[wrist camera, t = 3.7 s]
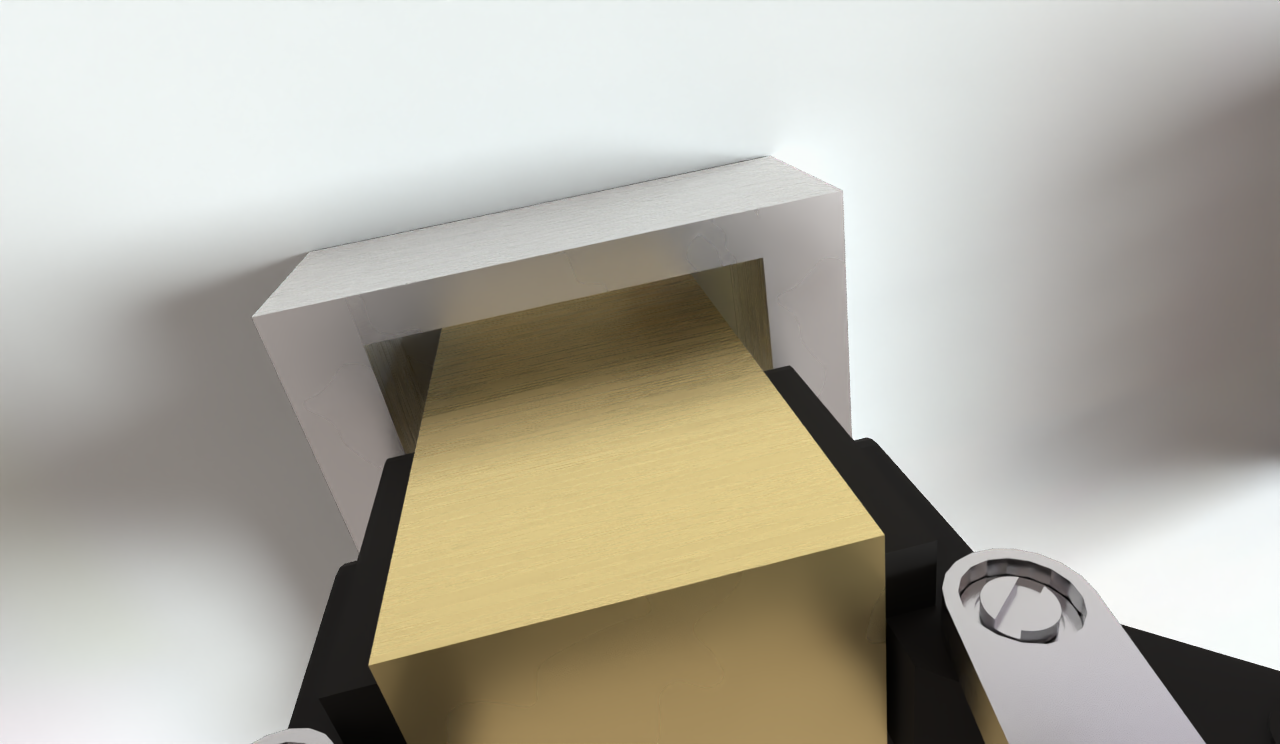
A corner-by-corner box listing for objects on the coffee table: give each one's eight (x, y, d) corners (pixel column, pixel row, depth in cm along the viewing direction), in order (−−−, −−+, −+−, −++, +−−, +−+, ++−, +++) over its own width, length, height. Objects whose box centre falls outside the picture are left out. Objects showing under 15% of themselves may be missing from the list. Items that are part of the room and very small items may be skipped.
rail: (309, 252, 12) (247, 320, 9) (770, 155, 12) (845, 192, 10) (573, 916, 21) (583, 1048, 19) (826, 844, 22) (872, 961, 19)
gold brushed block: (442, 326, 12) (368, 665, 5) (689, 271, 12) (884, 534, 6) (506, 524, 14) (506, 942, 7) (718, 473, 14) (888, 833, 8)
